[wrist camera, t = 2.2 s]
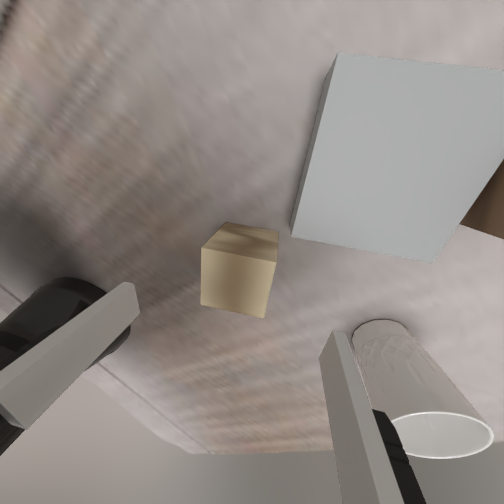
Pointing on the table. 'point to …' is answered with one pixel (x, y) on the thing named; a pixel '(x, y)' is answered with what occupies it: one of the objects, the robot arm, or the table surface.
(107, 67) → the table surface
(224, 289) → the maple block
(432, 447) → the white cup
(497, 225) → the walnut block
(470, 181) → the grey block
